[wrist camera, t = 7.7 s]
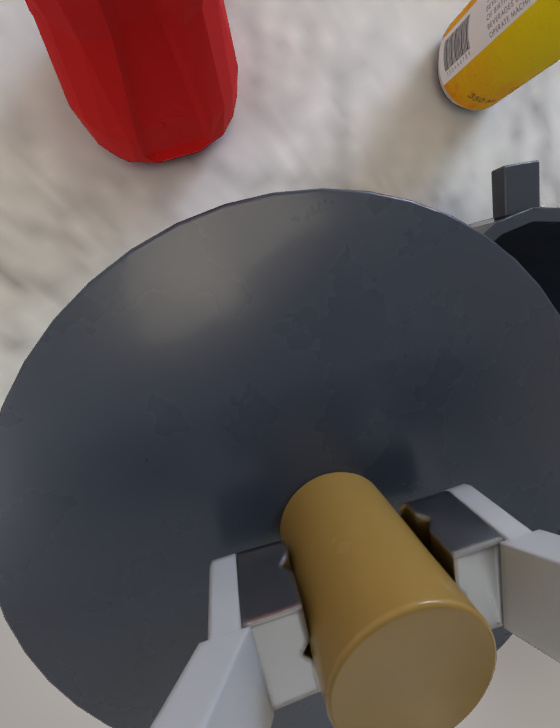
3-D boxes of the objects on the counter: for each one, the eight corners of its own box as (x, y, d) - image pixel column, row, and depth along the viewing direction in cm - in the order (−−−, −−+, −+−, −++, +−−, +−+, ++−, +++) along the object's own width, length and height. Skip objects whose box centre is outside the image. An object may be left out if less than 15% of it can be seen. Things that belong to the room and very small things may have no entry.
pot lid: (548, 159, 9) (925, 7, 4) (550, 615, 12) (754, 812, 7) (-102, 268, 7) (-810, 213, 2) (122, 776, 10) (44, 1178, 5)
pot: (522, 181, 27) (633, 141, 20) (527, 401, 32) (618, 433, 24) (364, 209, 25) (422, 176, 18) (392, 438, 30) (448, 484, 23)
